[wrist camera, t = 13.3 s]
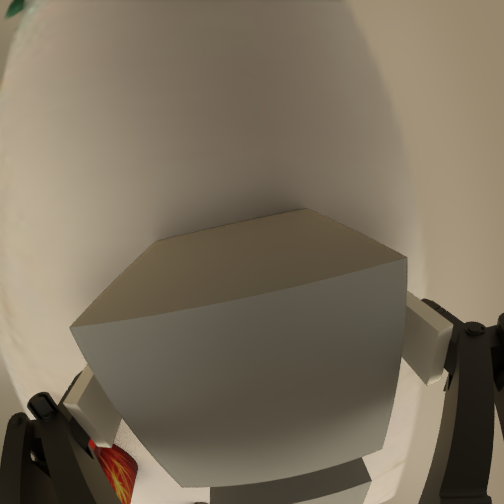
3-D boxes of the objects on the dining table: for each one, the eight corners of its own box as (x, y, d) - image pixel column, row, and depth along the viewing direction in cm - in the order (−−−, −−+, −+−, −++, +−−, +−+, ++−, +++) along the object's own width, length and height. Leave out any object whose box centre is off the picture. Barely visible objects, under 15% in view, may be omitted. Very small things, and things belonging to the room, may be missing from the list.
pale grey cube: (155, 241, 16) (69, 327, 6) (306, 208, 16) (407, 257, 6) (197, 363, 18) (182, 487, 8) (322, 337, 18) (382, 448, 9)
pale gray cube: (213, 401, 19) (209, 512, 10) (326, 377, 19) (371, 480, 10) (239, 455, 22) (245, 539, 12) (328, 436, 22) (357, 516, 12)
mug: (104, 411, 19) (66, 514, 8) (149, 478, 23) (137, 554, 12) (34, 396, 19) (-12, 471, 7) (85, 466, 23) (64, 530, 11)
